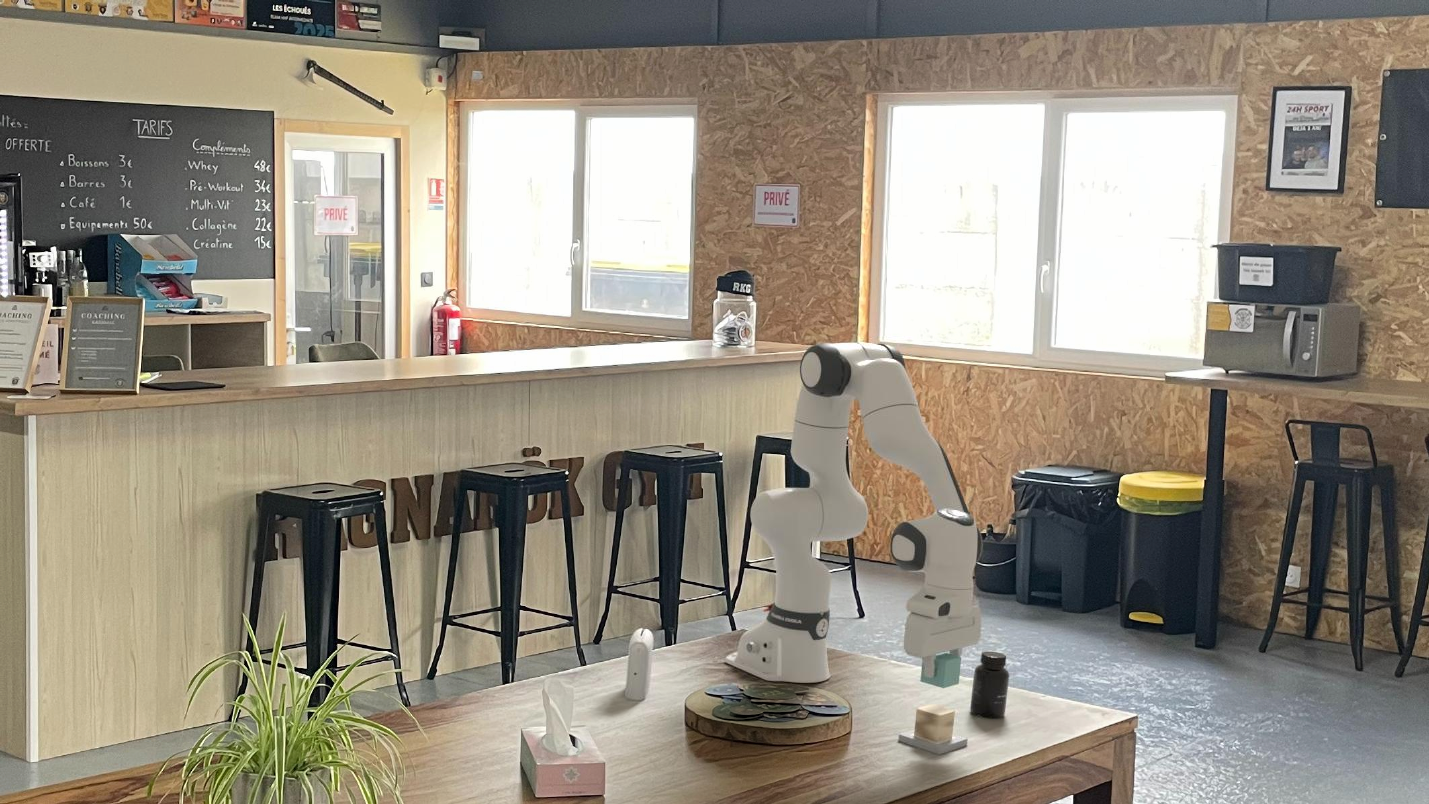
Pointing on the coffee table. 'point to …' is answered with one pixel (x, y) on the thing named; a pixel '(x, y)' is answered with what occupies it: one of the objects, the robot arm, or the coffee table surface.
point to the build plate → (931, 745)
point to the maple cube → (934, 723)
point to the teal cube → (944, 671)
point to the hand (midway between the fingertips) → (940, 674)
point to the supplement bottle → (990, 686)
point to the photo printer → (639, 664)
